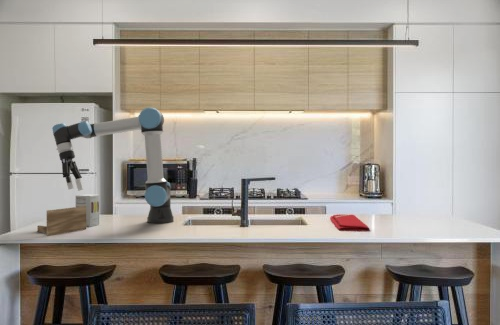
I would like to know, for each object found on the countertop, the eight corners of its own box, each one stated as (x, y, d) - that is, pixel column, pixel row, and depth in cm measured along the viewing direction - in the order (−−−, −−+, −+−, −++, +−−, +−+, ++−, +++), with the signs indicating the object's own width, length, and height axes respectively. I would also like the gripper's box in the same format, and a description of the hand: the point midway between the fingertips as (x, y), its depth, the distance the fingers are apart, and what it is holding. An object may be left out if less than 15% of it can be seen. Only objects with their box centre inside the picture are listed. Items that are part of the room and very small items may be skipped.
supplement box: (90, 227, 230) (90, 195, 230) (74, 226, 232) (74, 195, 232) (100, 224, 239) (99, 194, 239) (85, 223, 241) (85, 194, 241)
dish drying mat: (338, 231, 217) (338, 224, 217) (329, 220, 258) (329, 214, 258) (370, 232, 216) (370, 224, 216) (355, 220, 257) (355, 214, 257)
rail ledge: (86, 229, 223) (86, 206, 223) (48, 235, 204) (47, 210, 203) (67, 226, 230) (67, 204, 230) (28, 233, 211) (28, 208, 211)
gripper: (68, 157, 244) (77, 192, 241) (49, 150, 219) (59, 190, 217) (81, 153, 244) (90, 188, 242) (63, 146, 219) (74, 185, 217)
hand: (76, 189), depth 229 cm, fingers open, 13 cm apart
